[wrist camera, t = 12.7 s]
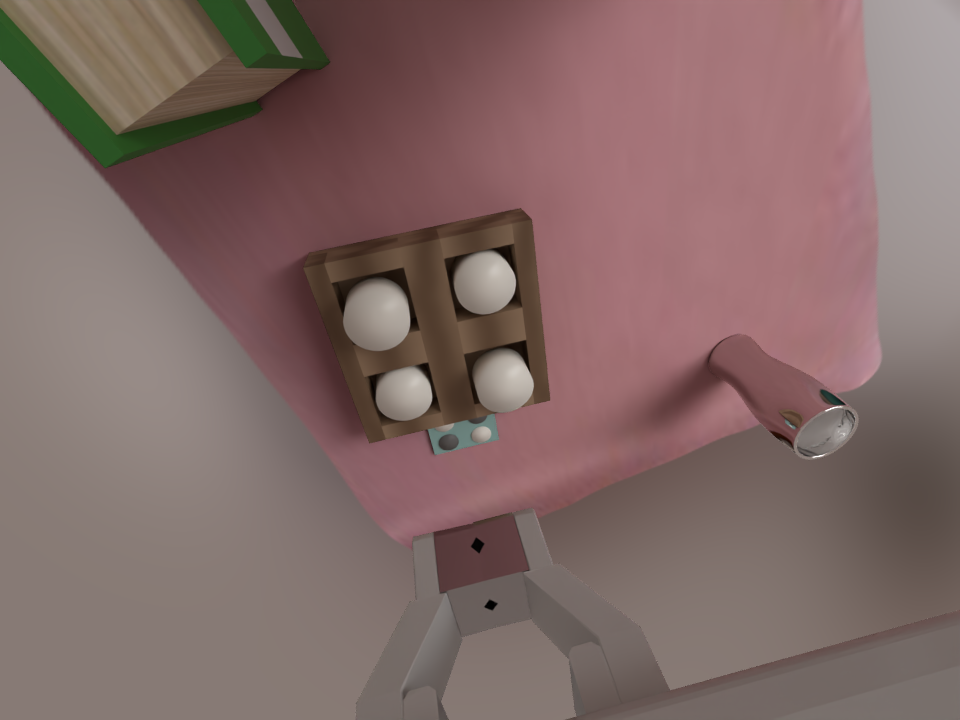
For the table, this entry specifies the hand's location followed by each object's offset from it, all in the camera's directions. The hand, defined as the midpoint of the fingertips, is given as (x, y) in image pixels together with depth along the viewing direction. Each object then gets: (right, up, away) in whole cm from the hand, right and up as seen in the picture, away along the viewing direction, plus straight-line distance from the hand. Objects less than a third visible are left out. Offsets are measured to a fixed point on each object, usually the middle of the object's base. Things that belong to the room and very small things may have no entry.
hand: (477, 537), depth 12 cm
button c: (+2, +3, +38) cm, 38 cm away
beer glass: (+31, +5, +47) cm, 57 cm away
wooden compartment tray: (-4, +8, +38) cm, 39 cm away
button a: (0, +13, +35) cm, 37 cm away
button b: (-9, +9, +32) cm, 35 cm away
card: (-2, -4, +46) cm, 46 cm away
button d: (-8, +2, +40) cm, 41 cm away
